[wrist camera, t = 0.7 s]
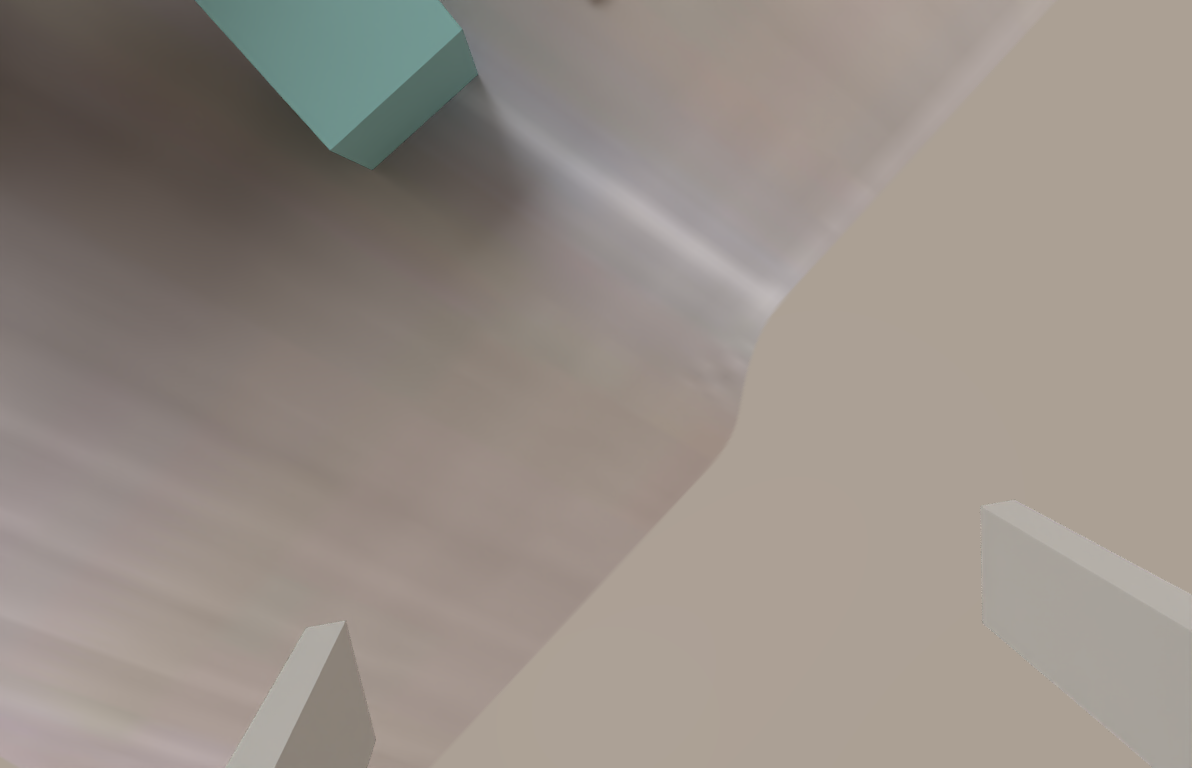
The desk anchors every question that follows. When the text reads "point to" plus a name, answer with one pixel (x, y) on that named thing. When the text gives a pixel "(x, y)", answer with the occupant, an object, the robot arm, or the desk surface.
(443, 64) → the cube
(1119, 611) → the robot arm
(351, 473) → the desk surface
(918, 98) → the desk surface
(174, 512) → the desk surface
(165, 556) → the desk surface
